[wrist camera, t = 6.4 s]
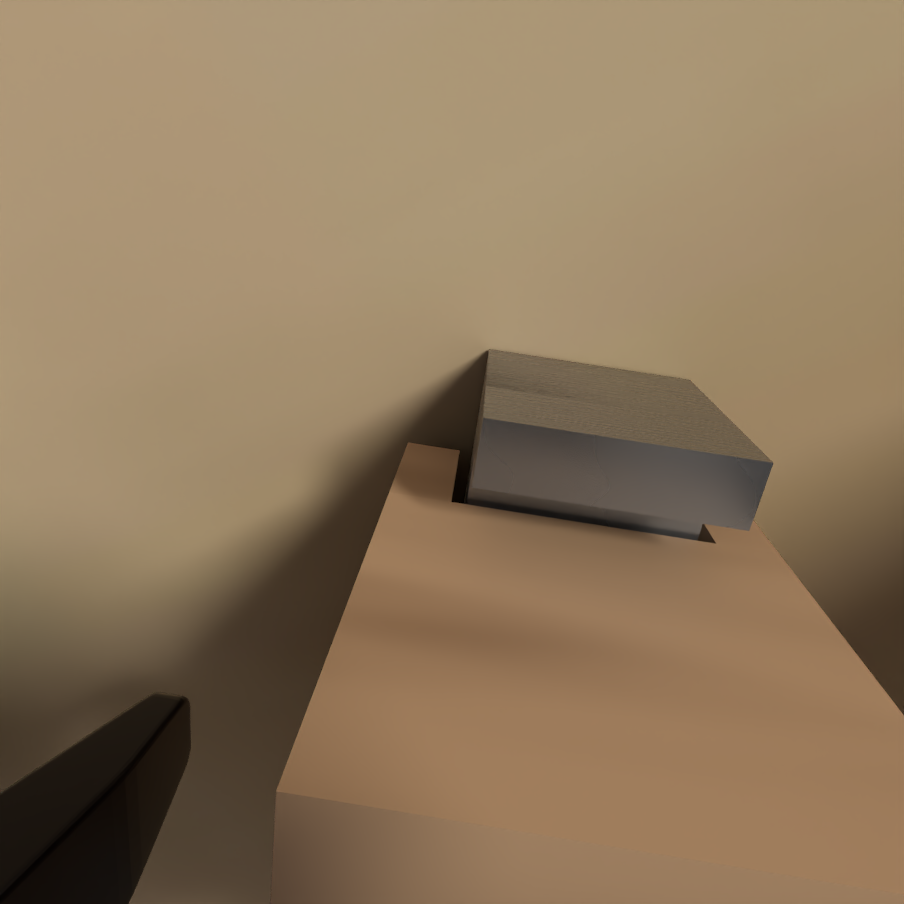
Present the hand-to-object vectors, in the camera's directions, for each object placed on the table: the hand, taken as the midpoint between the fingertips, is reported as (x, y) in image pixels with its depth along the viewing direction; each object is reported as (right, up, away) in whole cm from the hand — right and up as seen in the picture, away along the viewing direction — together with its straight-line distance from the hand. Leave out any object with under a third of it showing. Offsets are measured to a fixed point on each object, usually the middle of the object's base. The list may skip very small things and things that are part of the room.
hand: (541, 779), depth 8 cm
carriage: (0, +1, +3) cm, 4 cm away
